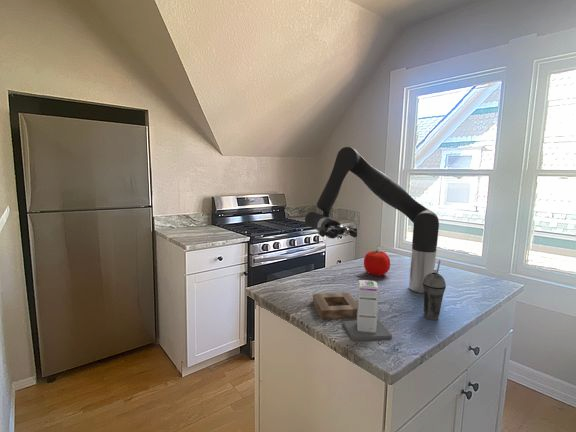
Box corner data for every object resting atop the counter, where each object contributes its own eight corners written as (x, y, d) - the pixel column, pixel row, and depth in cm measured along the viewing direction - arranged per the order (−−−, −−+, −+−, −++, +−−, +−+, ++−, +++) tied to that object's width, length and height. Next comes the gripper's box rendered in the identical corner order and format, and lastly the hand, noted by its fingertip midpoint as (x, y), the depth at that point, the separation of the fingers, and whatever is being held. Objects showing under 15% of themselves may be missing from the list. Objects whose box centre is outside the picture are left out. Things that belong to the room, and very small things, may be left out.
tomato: (382, 269, 159) (384, 247, 158) (394, 278, 146) (396, 254, 145) (359, 270, 158) (360, 247, 156) (369, 279, 145) (371, 255, 143)
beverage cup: (415, 312, 112) (420, 257, 109) (435, 312, 113) (440, 257, 110) (426, 322, 105) (431, 263, 102) (447, 321, 106) (453, 263, 103)
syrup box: (376, 333, 95) (379, 287, 93) (356, 331, 96) (358, 285, 94) (374, 324, 101) (377, 280, 99) (355, 322, 102) (358, 279, 100)
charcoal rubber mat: (377, 322, 104) (378, 319, 104) (391, 338, 95) (391, 335, 94) (342, 324, 103) (342, 321, 103) (352, 340, 93) (352, 337, 93)
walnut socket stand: (348, 300, 121) (349, 292, 121) (361, 317, 108) (362, 308, 107) (312, 301, 120) (312, 294, 119) (321, 319, 106) (321, 310, 105)
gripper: (312, 218, 128) (326, 225, 112) (345, 217, 131) (363, 224, 116) (312, 237, 129) (325, 246, 114) (344, 235, 132) (362, 244, 117)
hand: (344, 235), depth 115 cm, fingers open, 8 cm apart
